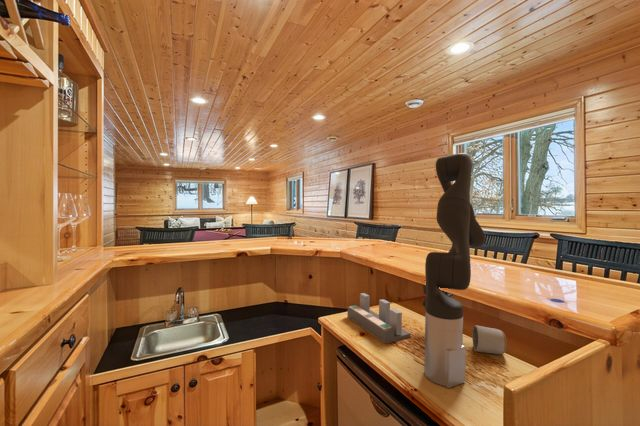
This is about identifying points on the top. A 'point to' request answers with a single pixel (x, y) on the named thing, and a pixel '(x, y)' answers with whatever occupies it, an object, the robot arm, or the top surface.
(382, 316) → the gray upright block
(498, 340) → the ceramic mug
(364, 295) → the far button
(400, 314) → the grey tall block
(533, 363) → the top surface
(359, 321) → the button console
